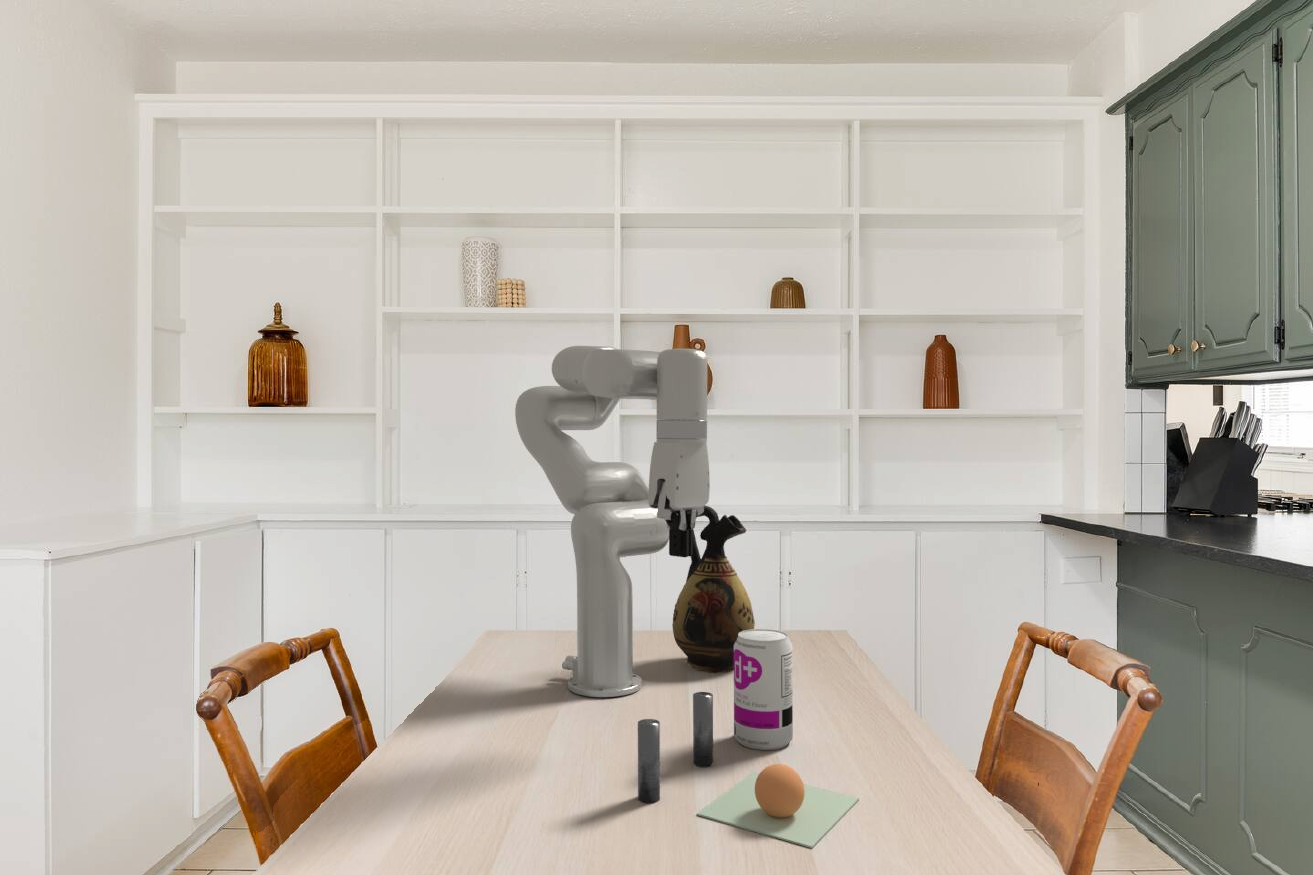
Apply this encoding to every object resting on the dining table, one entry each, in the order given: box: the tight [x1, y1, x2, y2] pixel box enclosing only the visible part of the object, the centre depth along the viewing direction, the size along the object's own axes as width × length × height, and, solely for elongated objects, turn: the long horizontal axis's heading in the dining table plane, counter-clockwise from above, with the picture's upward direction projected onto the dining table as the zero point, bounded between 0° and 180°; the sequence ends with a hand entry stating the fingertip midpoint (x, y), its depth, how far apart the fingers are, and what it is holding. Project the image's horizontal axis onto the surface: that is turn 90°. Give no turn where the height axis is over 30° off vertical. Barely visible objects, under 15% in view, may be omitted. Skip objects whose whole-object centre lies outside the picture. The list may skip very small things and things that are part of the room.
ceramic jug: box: [672, 505, 756, 674], centre depth 157 cm, size 17×15×30 cm
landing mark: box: [696, 771, 860, 849], centre depth 97 cm, size 14×14×1 cm
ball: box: [755, 763, 805, 818], centre depth 95 cm, size 6×6×6 cm
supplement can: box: [733, 628, 794, 751], centre depth 118 cm, size 8×8×15 cm
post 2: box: [692, 691, 714, 768], centre depth 110 cm, size 3×3×9 cm
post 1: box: [637, 718, 661, 804], centre depth 99 cm, size 3×3×9 cm
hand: (680, 555), depth 124 cm, fingers closed
